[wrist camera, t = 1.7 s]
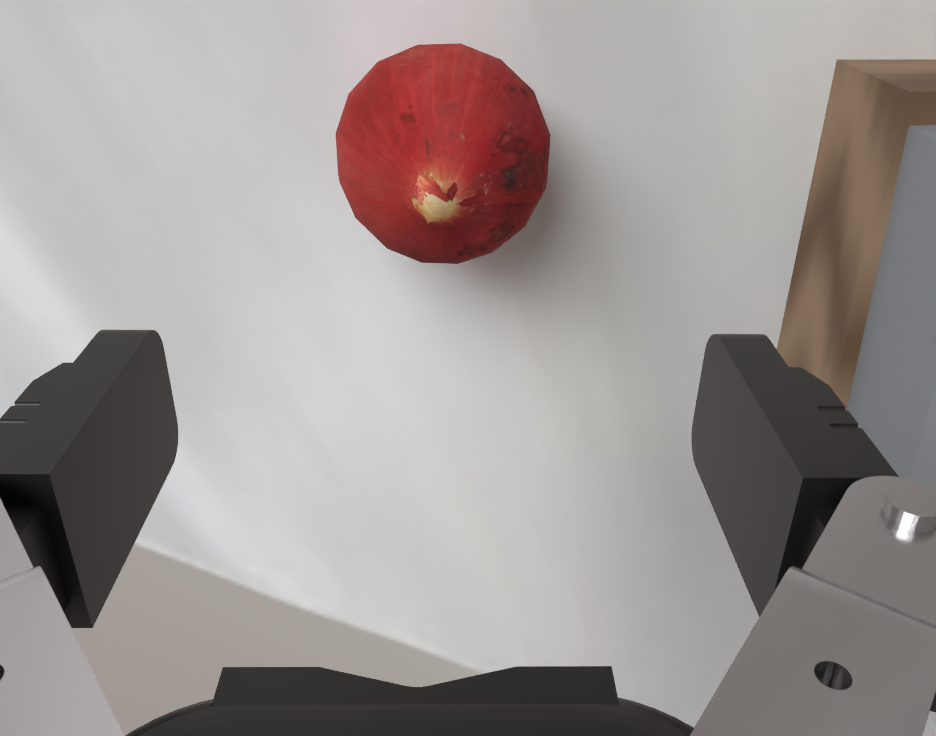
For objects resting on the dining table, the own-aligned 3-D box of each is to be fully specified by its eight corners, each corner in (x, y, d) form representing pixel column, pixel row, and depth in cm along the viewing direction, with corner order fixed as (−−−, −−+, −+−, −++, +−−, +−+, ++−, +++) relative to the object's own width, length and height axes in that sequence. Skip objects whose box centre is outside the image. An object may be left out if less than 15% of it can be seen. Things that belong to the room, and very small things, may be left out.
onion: (543, 26, 25) (577, 79, 18) (532, 212, 28) (558, 321, 21) (346, 23, 25) (304, 75, 18) (355, 210, 28) (323, 319, 21)
